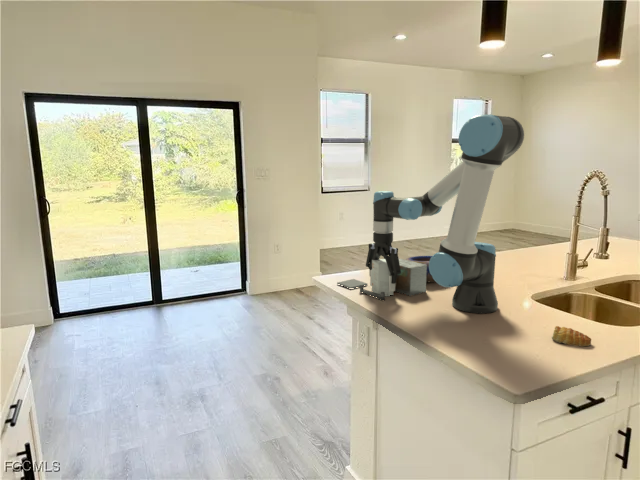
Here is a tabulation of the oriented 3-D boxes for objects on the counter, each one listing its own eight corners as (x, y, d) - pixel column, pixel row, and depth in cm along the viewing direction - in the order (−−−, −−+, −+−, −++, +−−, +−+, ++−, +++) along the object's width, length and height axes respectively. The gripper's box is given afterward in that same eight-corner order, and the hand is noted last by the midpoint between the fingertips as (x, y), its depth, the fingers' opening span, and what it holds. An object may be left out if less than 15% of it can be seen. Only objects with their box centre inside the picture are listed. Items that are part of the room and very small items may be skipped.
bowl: (425, 272, 197) (425, 251, 195) (456, 280, 182) (457, 258, 180) (396, 278, 187) (396, 256, 186) (426, 287, 172) (427, 264, 171)
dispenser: (425, 291, 167) (426, 264, 165) (387, 302, 155) (387, 273, 153) (393, 281, 181) (393, 256, 180) (355, 291, 169) (355, 264, 167)
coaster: (367, 285, 176) (367, 283, 176) (350, 289, 171) (350, 287, 171) (353, 281, 184) (353, 278, 183) (337, 284, 178) (337, 282, 178)
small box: (393, 296, 162) (394, 263, 160) (378, 297, 161) (378, 264, 159) (386, 289, 170) (386, 258, 168) (371, 291, 169) (371, 259, 167)
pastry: (591, 341, 120) (592, 329, 119) (589, 350, 114) (591, 337, 113) (553, 334, 125) (554, 322, 124) (550, 342, 119) (551, 330, 119)
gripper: (411, 234, 155) (410, 293, 158) (370, 227, 172) (370, 280, 176) (397, 236, 150) (396, 296, 154) (356, 229, 168) (356, 283, 172)
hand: (382, 288), depth 165 cm, fingers closed on small box, 10 cm apart
